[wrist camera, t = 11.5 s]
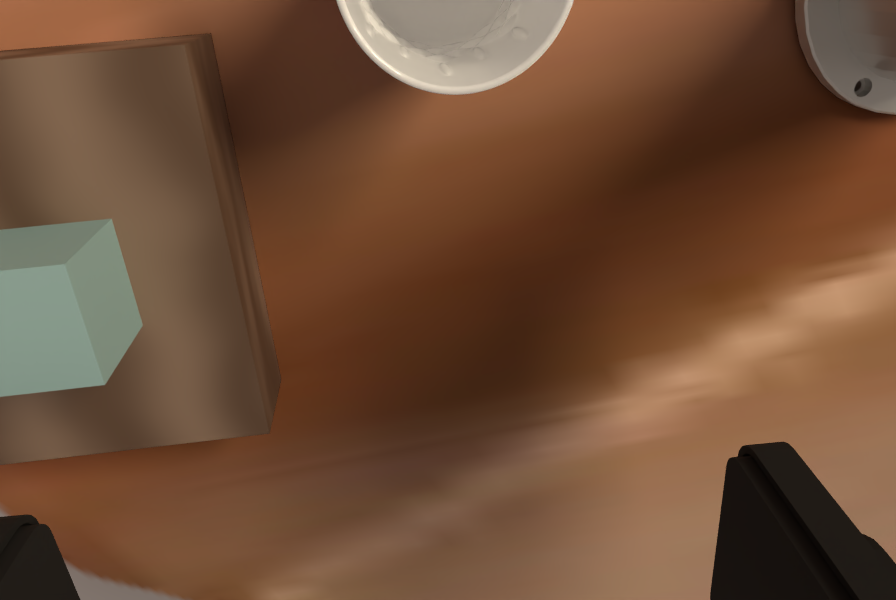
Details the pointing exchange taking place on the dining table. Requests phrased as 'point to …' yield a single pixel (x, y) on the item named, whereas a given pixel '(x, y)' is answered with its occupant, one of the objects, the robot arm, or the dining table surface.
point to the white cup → (454, 39)
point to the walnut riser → (141, 241)
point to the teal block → (63, 307)
